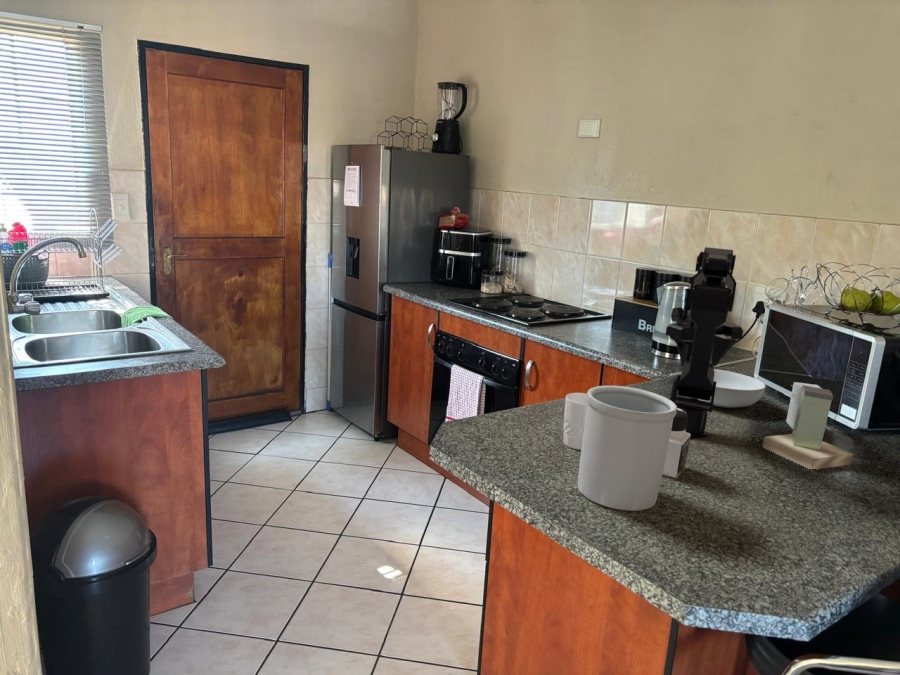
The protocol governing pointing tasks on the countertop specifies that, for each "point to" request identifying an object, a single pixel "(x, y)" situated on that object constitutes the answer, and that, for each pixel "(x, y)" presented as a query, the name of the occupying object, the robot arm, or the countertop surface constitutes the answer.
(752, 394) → the serving bowl
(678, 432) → the medicine bottle
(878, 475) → the countertop surface
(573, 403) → the white cup
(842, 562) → the countertop surface
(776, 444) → the wooden block
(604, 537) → the countertop surface
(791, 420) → the small box
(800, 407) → the tea tin
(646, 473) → the utensil holder
